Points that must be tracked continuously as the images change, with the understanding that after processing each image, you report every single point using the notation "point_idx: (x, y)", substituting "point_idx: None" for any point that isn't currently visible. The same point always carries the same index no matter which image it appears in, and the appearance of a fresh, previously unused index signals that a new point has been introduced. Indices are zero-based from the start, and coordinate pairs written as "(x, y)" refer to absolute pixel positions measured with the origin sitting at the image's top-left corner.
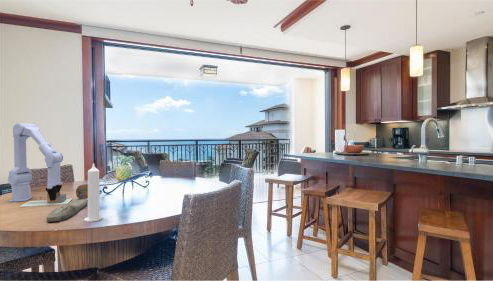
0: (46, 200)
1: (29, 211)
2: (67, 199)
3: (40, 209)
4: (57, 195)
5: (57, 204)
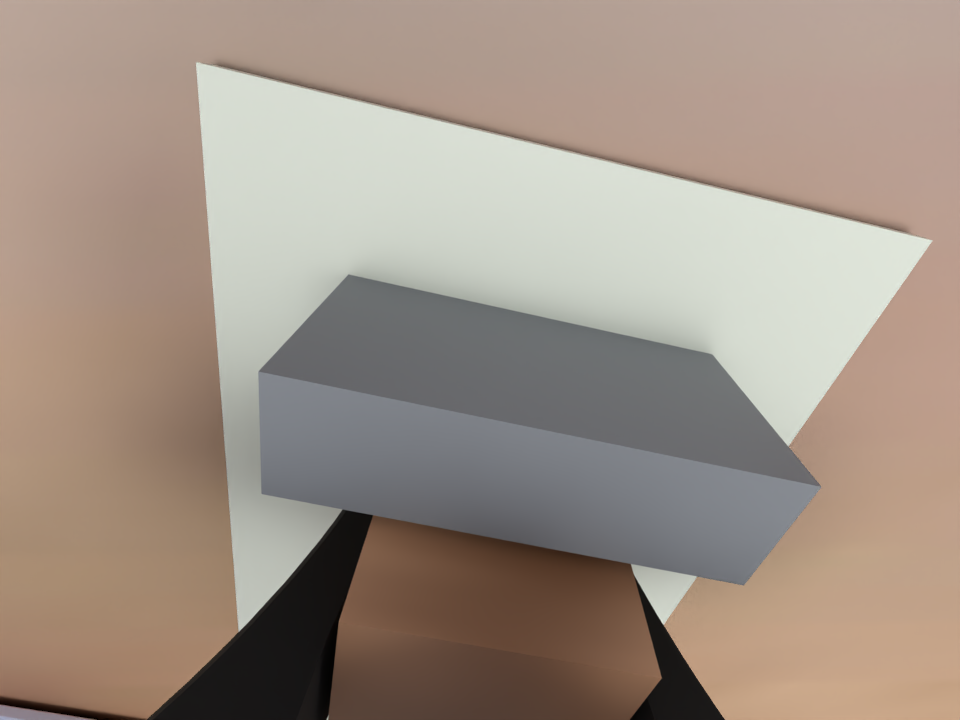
0: (270, 589)
1: (928, 699)
2: (304, 239)
3: (929, 621)
4: (629, 614)
5: (785, 436)
